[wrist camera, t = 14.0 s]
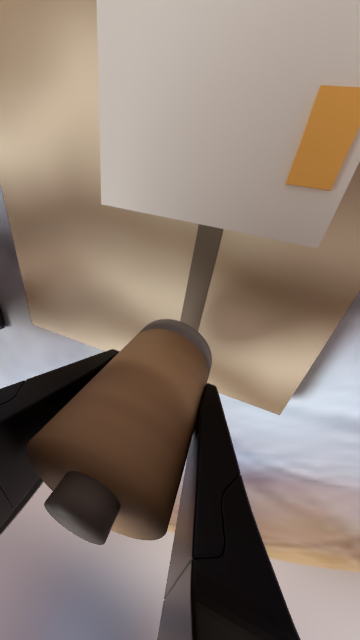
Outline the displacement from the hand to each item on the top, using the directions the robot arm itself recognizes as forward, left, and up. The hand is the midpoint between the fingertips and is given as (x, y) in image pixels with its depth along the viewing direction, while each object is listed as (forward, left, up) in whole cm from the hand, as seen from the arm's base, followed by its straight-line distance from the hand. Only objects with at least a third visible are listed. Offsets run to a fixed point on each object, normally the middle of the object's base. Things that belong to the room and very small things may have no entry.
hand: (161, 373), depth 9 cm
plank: (+5, +3, -6) cm, 8 cm away
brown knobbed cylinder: (0, 0, -2) cm, 2 cm away
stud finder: (+9, 0, -4) cm, 9 cm away
